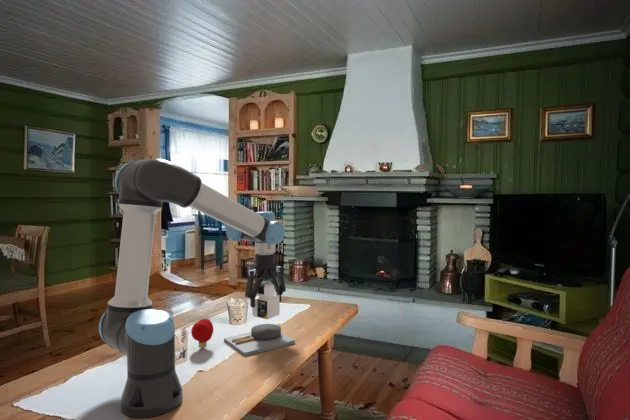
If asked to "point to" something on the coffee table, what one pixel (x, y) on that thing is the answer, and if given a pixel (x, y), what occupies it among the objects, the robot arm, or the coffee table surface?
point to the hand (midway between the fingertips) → (266, 313)
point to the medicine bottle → (267, 301)
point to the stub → (266, 332)
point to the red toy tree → (202, 332)
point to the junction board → (256, 343)
